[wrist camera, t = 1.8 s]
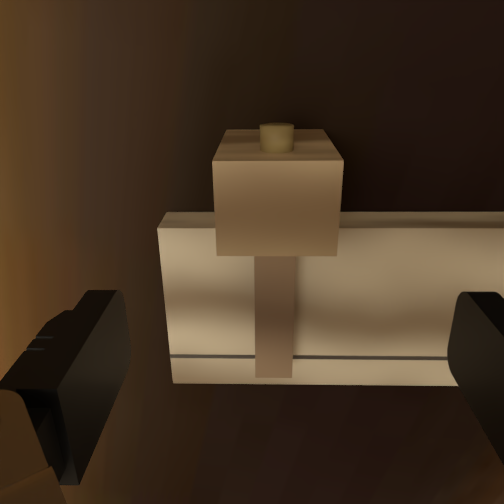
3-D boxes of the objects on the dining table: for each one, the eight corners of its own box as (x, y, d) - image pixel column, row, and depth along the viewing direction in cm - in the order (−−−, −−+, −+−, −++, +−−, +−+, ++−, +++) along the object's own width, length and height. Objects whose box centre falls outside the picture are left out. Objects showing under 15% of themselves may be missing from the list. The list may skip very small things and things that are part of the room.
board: (166, 211, 26) (157, 228, 24) (678, 211, 25) (720, 228, 23) (180, 357, 30) (172, 383, 28) (619, 360, 29) (650, 388, 27)
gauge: (225, 109, 24) (211, 134, 17) (324, 109, 23) (345, 133, 17) (232, 331, 29) (223, 412, 23) (312, 331, 29) (325, 413, 23)
